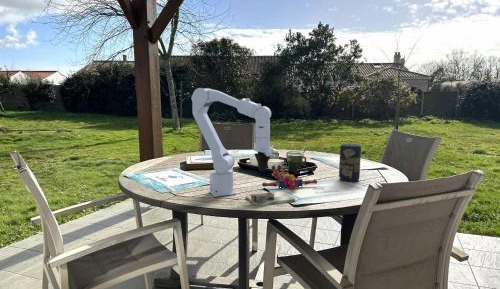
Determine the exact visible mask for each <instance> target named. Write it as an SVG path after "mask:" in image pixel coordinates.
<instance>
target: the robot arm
mask: <svg viewBox="0 0 500 289" xmlns="http://www.w3.org/2000/svg"><path fill="white" fill-rule="evenodd" d="M190 99H191V101H192V103H191V104H192V115H193V118H194V120H195V122H196V124H197V125H198V128H199V130H200V132H201V134H202V136H203V138H204V139H205V141H206V143H207V146H208V149H209V150H210V152H211V160H212V164H213V165H212V166H213V170H214V172H211V173H209V191H208V192H209V193H210V194H211V195H212V196H213V197H223V196H224V197H225V196H233V195H237V192H236V191H235V190H234V170H233V167H234V166H235V158H234V156H233V155H231V154H230V153H229V151H228V149H226V148H225V147H224V145H223V143H222V142H221V140H220V137H219V136H218V133H217V132H216V129H215V128H214V125H213V123H212V121H211V119H210V118H209V115H208V111H209V108H210V106H211V105H212V104H213V103H214V102H220V103H223V104H225V105H228V106H231V107H234V108H236V109H237V112H238V113H239V114H242V115H245V116H246V117H247V116H248V117H249V118H252V119H255V127H254V128H255V129H254V130H255V140H254V142H255V144H254V145H253V151H255V152H256V153H253V155H254V157H255V159H256V162H257V167H258V170H259V172H261V173H262V172H263V173H264V172H266V171H267V166H268V162H269V161H270V158H271V157H272V156H273V147H270V146H271V145H270V144H271V119H270V118H272V111H271V109H270V108H269V107H267V106H266V105H263V106H262V104H261V103H255V102H254V101H251V99H250V98H249V97H248V98H242V99H237V98H236V97H234V96H231V95H228V94H226V93H224V92H222V91H220V90H216V89H212V88H210V87H209V88H208V87H207V88H204V87H203V88H202V87H198V88H195V89H194V90H193V93H192V95H191V98H190Z"/></svg>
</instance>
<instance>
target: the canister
mask: <svg viewBox="0 0 500 289" xmlns="http://www.w3.org/2000/svg"><path fill="white" fill-rule="evenodd" d="M361 156H362V147H361V145H360V144H356V143H352V142H350V143H343V144H341V145H340V147H339V163H338V164H339V166H338V178H339V179H340V180H341V181H346V182H357V181H359V179H360V177H361V174H360V173H361Z"/></svg>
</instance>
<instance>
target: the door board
mask: <svg viewBox="0 0 500 289" xmlns="http://www.w3.org/2000/svg"><path fill="white" fill-rule="evenodd" d="M273 193H274V199H266V195H256V201H252V200H251V194H248V195H245V199H247V200H248V201H249V202H250V203H251V204H253V205H254V206H255V207H260V206H268V205H276V204H285V203H293V202H292V201H295V202H296V198H294V197H292V195H289V194H287V193H286V192H284V191H276V192H273Z"/></svg>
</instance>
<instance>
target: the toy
mask: <svg viewBox="0 0 500 289" xmlns="http://www.w3.org/2000/svg"><path fill="white" fill-rule="evenodd" d="M276 168H277V170H276ZM280 170H281V172H279V171H280ZM272 171H273V173H272ZM271 176H272V177H274V178H275V179H277V180H278V181H277V182H267V183H266V182H262V183H261V185H262V187H263V188H264V187H265V188H266V187H274V188H275V187H278V189H279V188H280V187H281V188H284V187H285V189H286V188H290V189H297V187H299V186H302V187H303V186H304V185H305V186H307V185H310V184H311V185H312V184H313V185H314V184H318V180H317V179H312V180H303V179H302V178H296V177H295V175H294V174H290V173H289V172H288V171H285V169H282V166H281V164H278V165H277V167H276V165H274V164H272V166H271Z"/></svg>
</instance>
